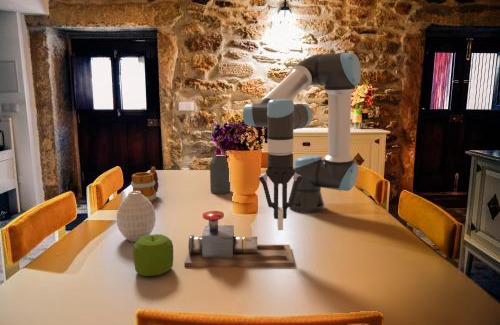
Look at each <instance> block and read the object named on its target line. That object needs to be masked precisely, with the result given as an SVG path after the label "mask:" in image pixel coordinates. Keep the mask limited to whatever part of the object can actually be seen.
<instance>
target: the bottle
mask: <svg viewBox="0 0 500 325" xmlns="http://www.w3.org/2000/svg"><path fill="white" fill-rule="evenodd" d="M209 174H210V175H209V179H210V181H209V182H210V187H209V188H210V192H211V193H212V194H214V195H226V194H229V193H230V192H231V181H230V182H229V168H228V162H227V159H226V158H225V156H216V152H215V153H214V155H213V157H212V159H211V160H210V162H209Z"/></svg>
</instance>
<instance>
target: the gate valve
mask: <svg viewBox="0 0 500 325" xmlns="http://www.w3.org/2000/svg"><path fill="white" fill-rule="evenodd" d="M224 217H225V214H224V212H223V211H220V210H209V211H205V212H204V213H202V219H204V220H206V221H208V225H205V226H204V228H203V231H202V235H201V236H195V235H194V234H191V235H189V239H188V252H189V255H193V254H194V253H202V255H203V259H223V260H233V237H235V226H234V224H233V225H232V224H231V225H230V224H229V225H228V224H227V225H225V224H224V225H219V220H222V219H223V218H224Z"/></svg>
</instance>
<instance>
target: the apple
mask: <svg viewBox="0 0 500 325" xmlns="http://www.w3.org/2000/svg"><path fill="white" fill-rule="evenodd" d="M132 256H133V264H134V271H135V272H136V273H137V275H141V276H143V277H144V276H145V277H157V276H160V275H163V274H164V273H166V272H168V271H169V270H171V269H172V268H173V266H174V245H173V241H172V239H170V238H169V237H167V235H164V234H161V233H160V234H157V233H156V234H150V235H148V236H143V237H141V238H140V239H138V241H137V242H134V245H133V251H132Z"/></svg>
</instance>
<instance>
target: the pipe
mask: <svg viewBox="0 0 500 325" xmlns="http://www.w3.org/2000/svg"><path fill="white" fill-rule="evenodd" d="M257 245H258V236H234V237H233V253H257Z"/></svg>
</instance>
